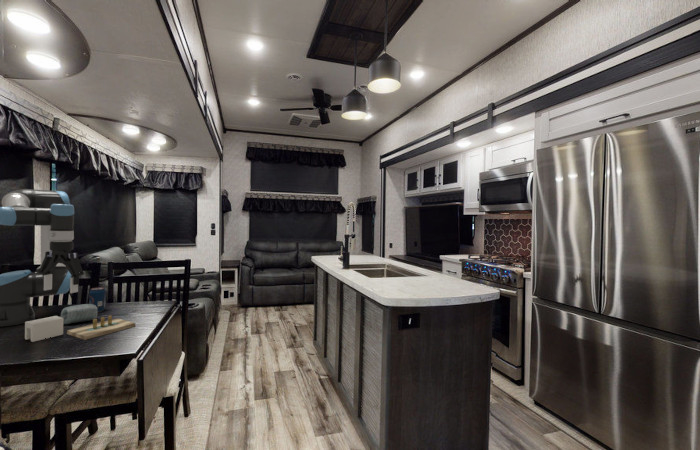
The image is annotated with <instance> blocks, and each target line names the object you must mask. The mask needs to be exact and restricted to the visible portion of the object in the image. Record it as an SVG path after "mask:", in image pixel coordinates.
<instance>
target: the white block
mask: <svg viewBox="0 0 700 450" xmlns="http://www.w3.org/2000/svg"><path fill="white" fill-rule="evenodd" d="M62 335H64V324H63V318H61V316H58V315H53V316H49V317H48V316H47V317H44V318H38V319H34V320H32V321H27V322H25V323H24V340H30V342H32V343H34V342H37V341H41V340H46V339H50V337H51V338H54V337H58V336H62ZM45 338H46V339H45Z"/></svg>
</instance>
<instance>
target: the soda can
mask: <svg viewBox="0 0 700 450" xmlns="http://www.w3.org/2000/svg"><path fill="white" fill-rule="evenodd" d="M106 292H107V291H106V290H105V287H102V286H101V287H100V286H99V287H92V288H90V290H89V292H88V293H89V295H88V304H93V305H95V306H96V307H97V312H98V313H101V312H104V310H105V309H106V299H107V298H106V295H107V294H106Z"/></svg>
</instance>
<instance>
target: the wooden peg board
mask: <svg viewBox="0 0 700 450" xmlns="http://www.w3.org/2000/svg"><path fill="white" fill-rule="evenodd" d="M107 317H108V318H107V320H106V321H105V319H106V318H105V317H104V316H103V317H100V322H98V318H95V319H93V320H92V323H91V324H88V325H84V326H80V327H76V328H72V329H68V330H66V334H67V335H69V336H72V337H75V338H78V339H81V340H83V341H85V340H90V339H93V338H97V337H101V336H106V335H108V334H112V333H116V332H120V331H123V330H127V329H130V328H135V327H136V322H132V321H129V320H124V319H121V318H117V317H116V318H114V319H113V315H107Z"/></svg>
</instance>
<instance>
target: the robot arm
mask: <svg viewBox="0 0 700 450" xmlns="http://www.w3.org/2000/svg"><path fill="white" fill-rule="evenodd" d="M1 205H2V206H0V225H1V226H9V227H10V226H12V227H13V226H39V227H40V266H38V267H37V268H36V272H32V271H31V270H30V269H24V270H15V271H9V272H4V273H1V274H0V327H10V326H17V325H22V324H25V322H27V321H32V320H36V313H35V310H34V309H33V307H32V304H31V298H38V297H45V296H46V297H47V296H57V295H63V294H67V293H68V292H69V294H74V293H78V292H79V284H80V277H81V276H84V274H85V272H84V270H83V267H82V264H81V262H80V259H79V253H78V252H72V251H73V250H74V241H73V240H74V239H75V235H74V234H75V232H74V231H75V229H74V227H75V221H74V220H75V213H76V211H75V207H74V205H73V204H71V203H70V197H69V195H68V194H67V192H65V191H61V190H56V189H55V190H49V189H47V190H46V189H31V188H22V189H16V190H12V191H10V192H8V193H5V194H4V195H3V196H2V198H1Z"/></svg>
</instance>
